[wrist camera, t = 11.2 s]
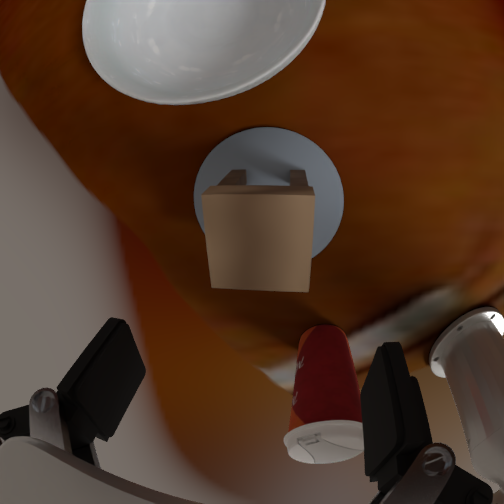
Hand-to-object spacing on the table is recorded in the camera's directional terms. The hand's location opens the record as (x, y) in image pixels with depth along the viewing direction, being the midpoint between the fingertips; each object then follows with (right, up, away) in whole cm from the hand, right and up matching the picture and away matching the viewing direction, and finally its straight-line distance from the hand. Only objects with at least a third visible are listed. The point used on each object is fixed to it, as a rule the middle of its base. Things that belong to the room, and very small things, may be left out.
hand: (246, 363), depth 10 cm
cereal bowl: (-3, +24, +8) cm, 25 cm away
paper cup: (+8, -6, +22) cm, 24 cm away
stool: (+2, +8, +14) cm, 17 cm away
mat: (+2, +8, +15) cm, 17 cm away
